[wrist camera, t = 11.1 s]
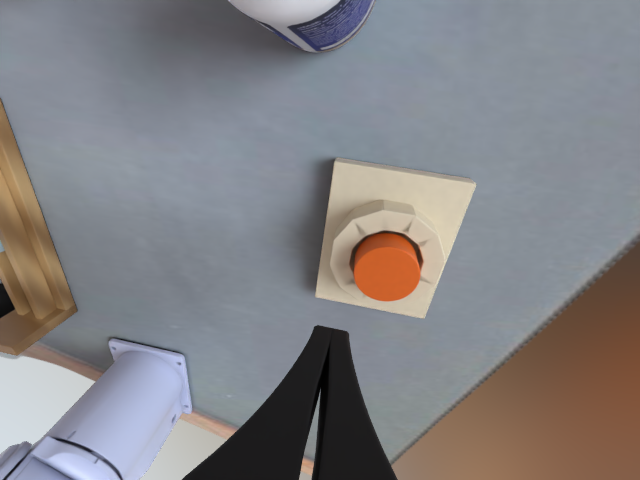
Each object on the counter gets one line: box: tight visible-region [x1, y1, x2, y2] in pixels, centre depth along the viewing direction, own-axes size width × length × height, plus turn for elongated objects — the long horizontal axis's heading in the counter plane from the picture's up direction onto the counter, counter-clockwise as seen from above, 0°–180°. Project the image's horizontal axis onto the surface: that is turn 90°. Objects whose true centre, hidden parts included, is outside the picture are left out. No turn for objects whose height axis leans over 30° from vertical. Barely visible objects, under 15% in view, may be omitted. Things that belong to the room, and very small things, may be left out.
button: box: [354, 233, 421, 302], centre depth 16 cm, size 4×4×2 cm
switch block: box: [315, 157, 476, 319], centre depth 18 cm, size 10×8×3 cm
